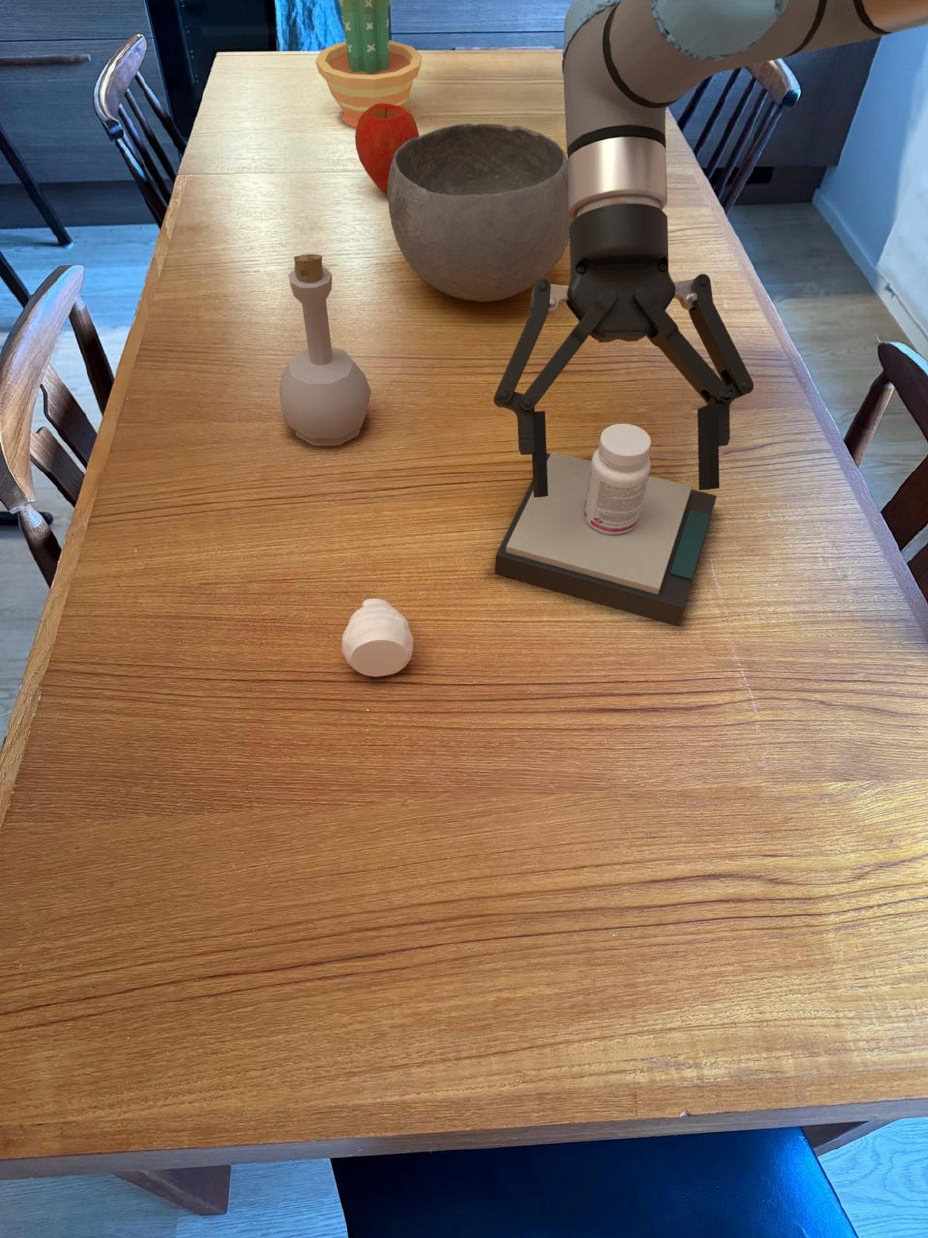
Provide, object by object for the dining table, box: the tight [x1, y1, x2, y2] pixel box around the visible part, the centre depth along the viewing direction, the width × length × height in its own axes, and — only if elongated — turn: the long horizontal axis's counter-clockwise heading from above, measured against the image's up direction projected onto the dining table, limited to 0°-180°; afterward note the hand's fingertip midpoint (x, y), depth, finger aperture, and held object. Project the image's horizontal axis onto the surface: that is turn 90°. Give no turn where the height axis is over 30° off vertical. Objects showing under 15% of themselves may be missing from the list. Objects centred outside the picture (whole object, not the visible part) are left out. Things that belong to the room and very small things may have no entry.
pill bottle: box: [584, 423, 652, 534], centre depth 73 cm, size 5×5×8 cm
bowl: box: [386, 122, 574, 303], centre depth 100 cm, size 20×20×15 cm
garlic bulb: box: [341, 597, 414, 678], centre depth 69 cm, size 6×6×6 cm
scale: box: [494, 451, 718, 627], centre depth 78 cm, size 16×14×3 cm
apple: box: [354, 103, 420, 195], centre depth 116 cm, size 9×8×11 cm
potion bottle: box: [279, 253, 372, 447], centre depth 82 cm, size 9×9×18 cm
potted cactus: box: [315, 0, 423, 128], centre depth 126 cm, size 15×15×25 cm
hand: (625, 493), depth 71 cm, fingers open, 13 cm apart
